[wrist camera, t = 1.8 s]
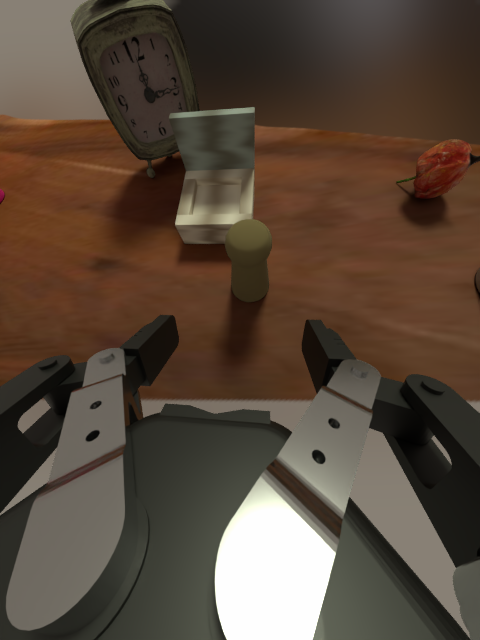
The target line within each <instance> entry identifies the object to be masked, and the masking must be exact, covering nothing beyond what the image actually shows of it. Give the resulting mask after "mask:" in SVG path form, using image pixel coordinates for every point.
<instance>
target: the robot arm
mask: <svg viewBox="0 0 480 640" xmlns="http://www.w3.org/2000/svg"><path fill="white" fill-rule="evenodd" d="M476 285H477V288H478V290H479V292H480V268H479V270H478V271H477V274H476ZM178 343H179V336H178V331H177V326H176V321H175V317H174V316H173V315H160V316H158V317H157V318H156V319H155V320H154V321H153V322H152V323H150V324H148V325H146V326H144V327H143V328H141V329H140V330H139V331H138V332H137V333H136V334H135V335H134V336H132V337H131V338H130V339H129V340H128V341H126V342H125V343H124V344H123V345H122V346H121V347H120V348H111V349H107V350H103V351H101V352H99V353H97V354H95V355H93V356H92V357H91V358H90V359H89V360H88V362H84V363H77V364H73V363H72V361H71V359H70V357H69V356H66V355H60V356H54V357H51V358H47V359H45V360H42V361H40V362H38V363H36V364H35V365H33V366H31V367H30V368H28V369H27V370H25V371H24V372H22V373H21V374H19V375H18V376H16V377H15V378H13V379H11V380H10V381H8V382H7V383H5V384H4V385H2V386H1V387H0V513H1V512H2V511H3V509H4V508H5V507H6V506H7V505H8V504H9V502H10V501H11V500H12V499H13V498H14V497H15V495H16V494H17V493H18V492H19V491H20V489H21V488H22V487H23V486H24V485H25V484H26V483H27V481H28V480H29V479H30V478H31V477H32V475H33V474H34V473H35V472H36V471H37V470H38V469H39V467H40V466H41V465H42V464H43V463H44V462H45V461H46V459H47V458H48V457H49V456H50V454H52V452H53V451H54V450H55V449H56V448H57V451H56V454H55V458H54V462H53V466H52V470H51V474H50V478H49V481H48V483H47V484H45V485H43V486H42V487H41V488H39V489H38V490H36V491H35V492H33V493H32V494H30V495H29V496H28V497H26V498H25V499H23V500H22V501H20V502H19V503H18V504H16V505H15V506H13V507H12V508H10V509H9V510H7V511H6V512H5V513H3V514H2V515H0V640H470V639H471V640H480V413H478V412H477V411H476V410H475V409H474V408H473V407H472V406H471V405H470V404H468V403H467V402H466V401H465V400H464V399H463V398H462V397H461V396H460V395H458V394H457V393H456V392H455V391H454V390H453V389H451V388H450V387H449V386H447V385H446V384H444V383H442V382H440V381H438V380H436V379H433V378H431V377H428V376H424V375H418V374H412V375H409V376H407V378H406V380H405V382H404V383H403V382H399V381H395V380H391V379H387V378H383V377H381V376H380V373H379V372H378V371H377V370H376V369H375V368H374V367H373V366H371V365H369V364H368V363H365V362H363V361H360V360H357V359H356V358H355V356H354V355H353V354H352V352H351V351H350V350H349V348H348V347H347V346H346V345H345V343H344V342H343V340H342V339H341V338H340V336H339V335H338V334H337V333H336V332H334V331H333V330H331V329H327V328H326V327H325V325H324V324H323V322H322V321H321V320H306V323H305V328H304V334H303V339H302V352H303V355H304V358H305V361H306V364H307V367H308V370H309V373H310V375H311V378H312V381H313V384H314V387H315V390H316V393H317V395H316V397H315V398H314V400H313V401H312V403H311V405H310V406H309V408H308V409H307V411H306V412H305V414H304V415H303V417H302V418H301V420H300V422H299V423H298V425H297V426H296V428H295V430H294V431H293V432H291V431H290V430H288V429H287V428H285V427H284V426H282V425H280V424H278V423H276V422H273V421H271V420H270V412H269V411H258V410H244V409H242V410H237V411H231V412H224V413H218V414H213V413H210V412H207V411H204V410H201V409H199V408H196V407H193V406H190V405H177V404H165V405H164V407H163V409H162V411H161V413H157V414H153V415H150V416H147V417H145V418H143V412H142V406H141V400H140V393H139V390H138V388H139V387H140V385H141V386H151V384H152V383H153V381H154V380H155V378H156V377H157V376H158V374H159V373H160V371H161V370H162V368H163V367H164V365H165V364H166V362H167V361H168V359H169V358H170V356H171V355H172V353H173V352H174V351H175V349H176V348H177V346H178ZM42 398H44V399H45V400H46V402H47V403H48V404H49V406H50V407H51V408H50V409H49V410H48V411H47V412H46V413H45V414H44V415H43V416H42V417H41V418H39V419H38V420H37V421H36V422H35V423H34V424H33V425H32V426H31V427H30V428H29V429H27V430H26V431H25V432H24V433H22V432H21V431H20V430H19V429H18V426H17V425H18V421H19V419H20V417H21V416H22V415H23V413H25V412H26V411H27V410H29V409H30V408H31V407H32V406H33V405H34V404H36V403H37V402H38V401H39V400H40V399H42ZM369 428H371V429H374V430H376V431H379V432H382V433H383V434H384V436H385V438H386V439H387V441H388V443H389V445H390V447H391V449H392V450H393V452H394V454H395V456H396V458H397V460H398V461H399V464H400V465H401V467H402V469H403V471H404V473H405V475H406V476H407V478H408V480H409V482H410V484H411V486H412V487H413V489H414V491H415V493H416V495H417V497H418V499H419V500H420V502H421V504H422V506H423V508H424V510H425V511H426V513H427V515H428V517H429V519H430V520H431V522H432V524H433V526H434V528H435V530H436V531H437V533H438V535H439V537H440V539H441V541H442V543H443V545H444V547H445V548H446V550H447V552H448V554H449V556H450V558H451V559H452V561H453V563H454V565H455V567H456V570H455V571H454V575H453V585H454V590H455V594H456V597H457V600H458V602H459V605H460V613H461V617H462V619H463V622H464V624H465V626H466V628H467V629H468V631H469V634H470V638H469V637H468V636H467V635H466V633H465V632H464V631H463V630H462V628H461V627H460V626H459V624H458V623H457V622H456V621H455V620H454V618H453V617H452V616H451V615H450V614H449V613H448V612H447V610H446V609H445V608H444V607H443V605H442V604H441V603H440V602H439V601H438V600H437V598H436V597H435V596H434V595H433V594H432V593H431V591H430V590H429V589H428V588H427V587H426V586H425V584H424V583H423V582H422V581H421V580H420V579H419V577H418V576H417V575H416V574H415V573H414V572H413V570H412V569H411V568H410V567H409V566H408V565H407V563H406V562H405V561H404V560H403V559H402V558H401V556H400V555H399V554H398V553H397V552H396V551H395V549H394V548H393V547H392V546H391V545H390V544H389V542H388V541H387V540H386V539H385V538H384V537H383V535H382V534H381V533H380V532H379V531H378V530H377V528H376V527H375V526H374V525H373V524H372V523H371V521H370V520H369V519H368V518H367V517H366V516H365V514H364V513H363V512H362V511H361V510H360V509H359V507H358V506H357V505H356V504H355V503H354V502H353V501H352V499H351V498H350V497H349V495H350V492H351V488H352V485H353V481H354V478H355V474H356V471H357V467H358V464H359V460H360V457H361V453H362V450H363V446H364V443H365V439H366V436H367V432H368V429H369ZM434 435H435V437H436V438H437V439H438V440H439V442H440V443H441V444H442V446H443V447H444V448H445V449H446V451H447V452H448V454H449V456H450V459H451V462H452V465H451V464H450V463H449V462H448V460H447V459H446V457H445V456H444V455H443V453H442V452H441V451H440V450H439V448H438V447H437V446H436V444H435V443H434V442H433V440H432V439H431V438H432V437H433V436H434Z"/></svg>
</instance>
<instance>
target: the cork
mask: <svg viewBox="0 0 480 640" xmlns="http://www.w3.org/2000/svg"><path fill="white" fill-rule="evenodd" d="M225 248H226V252H227V255H228V257H229V258H230V259H231V261H232V277H231V288H232V291H233V293H234V295H235V296H236V297H237V298H238V299H240V300H242V301H245V302H255V301H258V300H260V299H262V298H263V297H264V296H265V295H266V294H267V292H268V289H269V278H268V268H267V258H268V256H269V254H270V251H271V248H272V237H271V234H270V231H269V229H268V228H267V227H266V226H265V225H264V224H263V223H262V222H260V221H258V220H254V219H245V220H241V221H238V222H237V223H235V224H234V225H233V226H232V227H231V228H230V229H229V231H228V233H227V235H226V239H225Z"/></svg>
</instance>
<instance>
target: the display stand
mask: <svg viewBox="0 0 480 640" xmlns="http://www.w3.org/2000/svg"><path fill="white" fill-rule="evenodd" d="M254 109H255V107H252V108H238V109H225V110H210V111H196V112H182V113H170V116H169V121H170V124H171V127H172V130H173V133H174V136H175V139H176V142H177V145H178V148H179V151H180V154H181V157H182V160H183V163H184V166H185V169H186V174H185V179H184V183H183V188H182V193H181V198H180V203H179V207H178V212H177V217H176V222H175V226H176V228H177V230H178V232H179V234H180V236H181V238H182V240H183V242H184V244H225V239H226V235H227V233H228V231H229V229H230V228H231V227H232V226H233V225H234V224H235V223H237V222H238V221H241V220H245V219H253V207H254V122H255V121H254V119H255V118H254V116H255V114H254Z"/></svg>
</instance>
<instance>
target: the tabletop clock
mask: <svg viewBox="0 0 480 640" xmlns="http://www.w3.org/2000/svg"><path fill="white" fill-rule="evenodd" d="M71 24H72V28H73V31H74V36H75V39H76V42H77V46H78V49H79V52H80V55H81V58H82V62H83V64H84V67H85V69H86V72H87V74H88V76H89V79H90V81H91V83H92V86H93V87H94V89H95V92H96V93H97V96H98V98H99V99H100V102H101V104H102V106H103V107H104V109H105V111H106V114H107V116H108V117H109V119H110V120H111V122H112V124H113V125H114V127H115V129H116V130H117V132H118V133H119V135H120V137H121V138H122V140H123V141H124V143H125V144H126V145H127V147H128V148H129V149H130V151H131V152H132V153H133V154H134V155H135V156H136V157H137V158H138V159H140V160H147V161H148V165H149V168H148V169H147V175H148V176H149V177H151V178H153V177H155V172H154V170H153V169H152V165H151V160H154V159H158V158H162V157H165V156H169V157H170V156H172V154H175V153H177V152H179V148H178V145H177V142H176V139H175V136H174V133H173V130H172V127H171V124H170V121H169V116H170V113H182V112H196V111H199V104H198V98H197V91H196V84H195V81H194V76H193V72H192V69H191V65H190V60H189V57H188V53H187V49H186V46H185V42H184V39H183V36H182V33H181V31H180V28H179V26H178V24H177V21H176V19H175V17H174V15H173V13H172V11H171V10H170V9H169V7H168V6H167V5H166V4H165V3H164V1H163V0H88V1H86V2H85V3H83V4H81V5H80V6H79V7H78V8H77V9H76V10H75V12H74V14H73V16H72V18H71Z"/></svg>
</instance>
